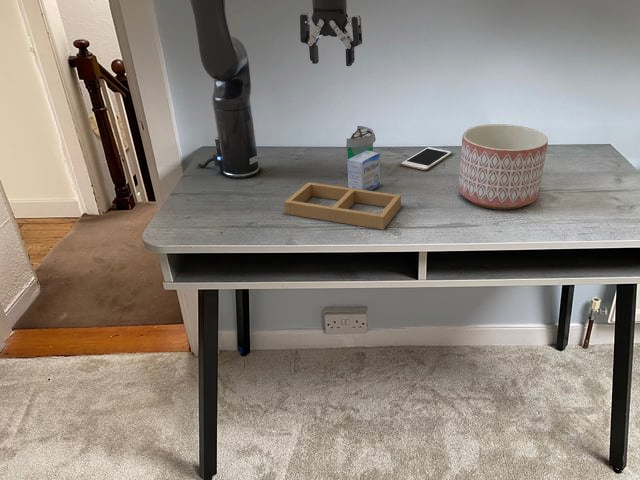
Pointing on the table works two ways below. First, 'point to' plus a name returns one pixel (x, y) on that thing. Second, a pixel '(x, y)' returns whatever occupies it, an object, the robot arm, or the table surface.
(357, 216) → the wooden divided frame
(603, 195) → the table surface
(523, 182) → the planter
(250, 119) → the robot arm
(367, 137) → the food container
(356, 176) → the medicine box
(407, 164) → the cell phone
